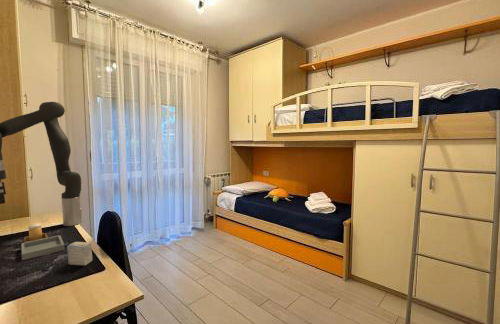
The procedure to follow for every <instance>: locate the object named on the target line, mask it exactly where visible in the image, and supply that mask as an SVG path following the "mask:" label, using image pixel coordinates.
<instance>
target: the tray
mask: <svg viewBox="0 0 500 324" xmlns="http://www.w3.org/2000/svg"><path fill="white" fill-rule="evenodd" d="M63 240H64V239H62V236H61V235H59V234H58V235H53V236H49V237H48V238H45V237H44V239H43V238H42V239H40V240H35V241H30V240H29V241H30V242H29V241H26V242H25V243H24V242H21V246H20V247H21V260H22V261H24V260H25V261H26V260H29V259H33V258H37V257H41V256H46V255H49V254H53V253H56V252H62V251H65V244H64V241H63Z"/></svg>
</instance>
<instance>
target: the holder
mask: <svg viewBox="0 0 500 324" xmlns="http://www.w3.org/2000/svg"><path fill="white" fill-rule="evenodd" d="M44 238H49V237H48V233H47V232H45V233H44V232H42V239H44ZM38 240H40V239H38ZM34 241H35V240H34ZM25 242H30V240H29V235H28V236H24V237H23V243H25Z"/></svg>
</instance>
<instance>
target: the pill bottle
mask: <svg viewBox="0 0 500 324" xmlns="http://www.w3.org/2000/svg"><path fill="white" fill-rule="evenodd" d="M27 228H28V236H29V241H34V240H38V239H43V238H42V234H43V231H42V228H43V227H42V223H41V222H37V223H36V222H35V223H31V224H29V225H28V227H27Z"/></svg>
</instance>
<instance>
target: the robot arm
mask: <svg viewBox="0 0 500 324" xmlns="http://www.w3.org/2000/svg"><path fill="white" fill-rule="evenodd" d="M65 112H66V110H65V107H64V105H63V104H61V103H60V102H57V101H45V102H42V103H41V104H40V105H39V107H38V110H35V111H32V112H29V113H26V114H22V115H19V116H15V117H11V118H9V119H7V120H3V121H2V122H0V205H3V204H5V203H6V198H5V195H7V192H6V187H5V182H4V181H2V180H6V179H7V174H6V166H5V162H4V160H3V153H2V152H3V151H2V150H3V148H2V147H3V138H5V137H8V136H12V135H16V134H18V133H19V132H23V131H25V130H26V129H27V130H28V129H29V128H31V127H34V126H36V125H38V124H41V123H43V124H44V128H45V131H46V135H47V140H48V142H49V147H50V151H51V153H52V158H53V161H54V165H55V170H56V171H55V172H56V173H55V174H56V179H57V182H58V184H60V185H61V186H63V187H64V188H65V190H64V191H63V192H62V193H61V194H60V195H61V207H62V208H61V211H62V212H61V213H62V225H63V226H65V227H71V226H78V225H79V224H82V223H83V218H82V215H83V214H82V208H81V191H82V177H81V175H80V174H79V173H78V172H76V171H72V170H71V168H70V164H69V163H70V162H69V160H70V156H71V149H72V148H71V145H70V141H69V138H68V137H67V135H66V133H65V132H64V131H63V129H62V127H61V126H60V122H59V118H61V117H63V115H65Z"/></svg>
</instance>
